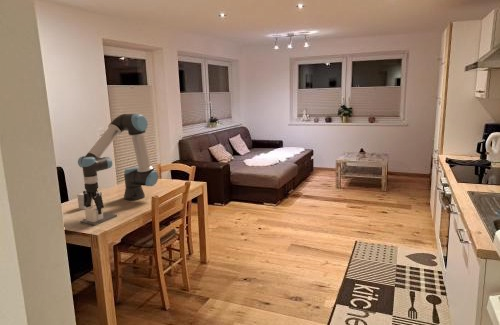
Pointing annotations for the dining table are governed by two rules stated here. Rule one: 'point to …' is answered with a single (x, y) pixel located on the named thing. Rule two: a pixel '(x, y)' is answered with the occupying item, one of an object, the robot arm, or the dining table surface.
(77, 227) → the dining table surface
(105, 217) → the shaft plate
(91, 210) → the white block
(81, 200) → the small box
